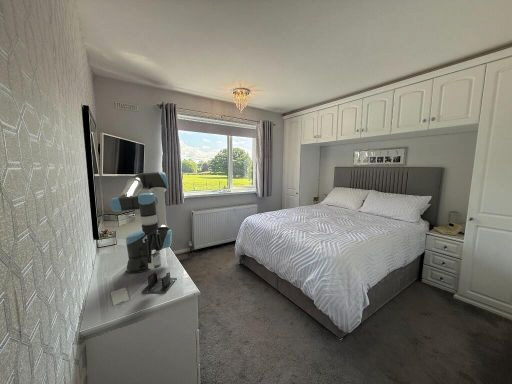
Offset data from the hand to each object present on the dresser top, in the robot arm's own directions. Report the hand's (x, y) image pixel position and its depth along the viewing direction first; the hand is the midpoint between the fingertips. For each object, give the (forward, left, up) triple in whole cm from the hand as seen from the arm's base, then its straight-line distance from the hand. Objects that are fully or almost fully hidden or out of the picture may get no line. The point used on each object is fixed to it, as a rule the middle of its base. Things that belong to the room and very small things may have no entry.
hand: (154, 265), depth 113 cm
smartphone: (+8, -16, -13) cm, 22 cm away
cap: (0, 0, -1) cm, 1 cm away
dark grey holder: (-1, +1, -13) cm, 13 cm away
